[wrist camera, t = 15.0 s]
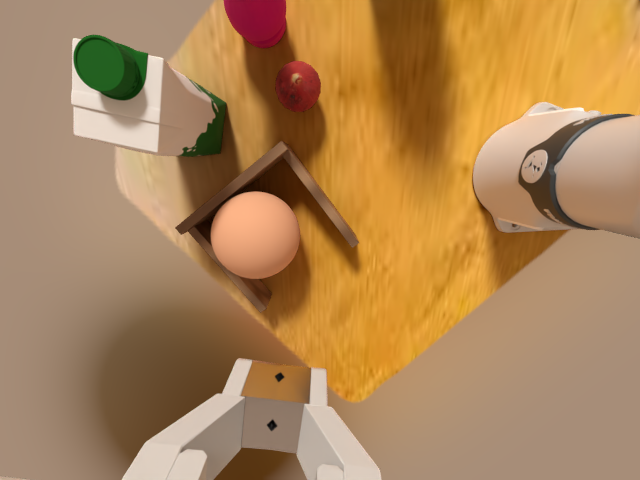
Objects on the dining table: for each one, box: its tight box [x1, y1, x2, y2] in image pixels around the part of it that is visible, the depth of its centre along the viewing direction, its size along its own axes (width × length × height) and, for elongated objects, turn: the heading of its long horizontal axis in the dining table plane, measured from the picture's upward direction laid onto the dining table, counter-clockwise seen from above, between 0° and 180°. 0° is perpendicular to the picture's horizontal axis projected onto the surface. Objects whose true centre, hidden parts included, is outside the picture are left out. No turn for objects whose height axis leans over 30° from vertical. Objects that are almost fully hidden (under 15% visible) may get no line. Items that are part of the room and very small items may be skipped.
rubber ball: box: [211, 191, 300, 279], centre depth 41 cm, size 12×12×12 cm
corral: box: [176, 141, 359, 313], centre depth 43 cm, size 17×18×7 cm
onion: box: [275, 61, 321, 112], centre depth 38 cm, size 6×6×8 cm
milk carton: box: [71, 35, 226, 157], centre depth 33 cm, size 9×9×20 cm
